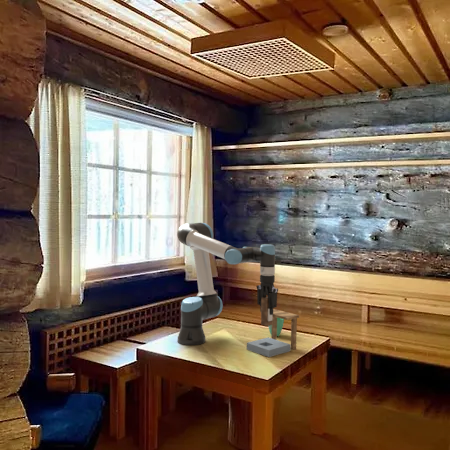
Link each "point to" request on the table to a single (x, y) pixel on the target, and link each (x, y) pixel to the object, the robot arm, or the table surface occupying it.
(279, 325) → the green tapered vase
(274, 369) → the table surface
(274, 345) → the socket block
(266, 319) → the peg
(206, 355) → the table surface
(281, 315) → the wooden arch frame
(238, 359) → the table surface
